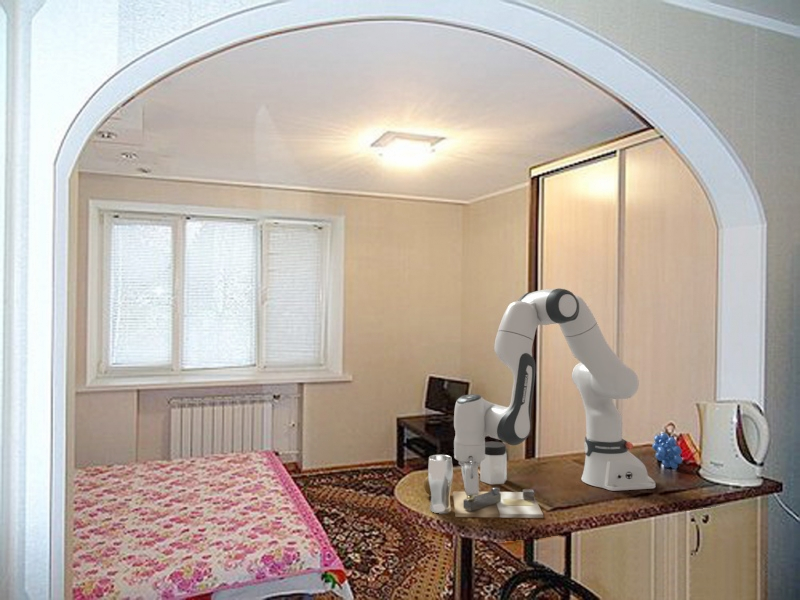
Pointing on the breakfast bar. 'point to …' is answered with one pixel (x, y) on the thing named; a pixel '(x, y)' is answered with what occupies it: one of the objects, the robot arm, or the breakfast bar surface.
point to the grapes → (667, 450)
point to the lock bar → (482, 499)
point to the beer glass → (440, 482)
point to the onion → (427, 486)
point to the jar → (494, 464)
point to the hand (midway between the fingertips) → (469, 500)
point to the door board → (501, 506)
